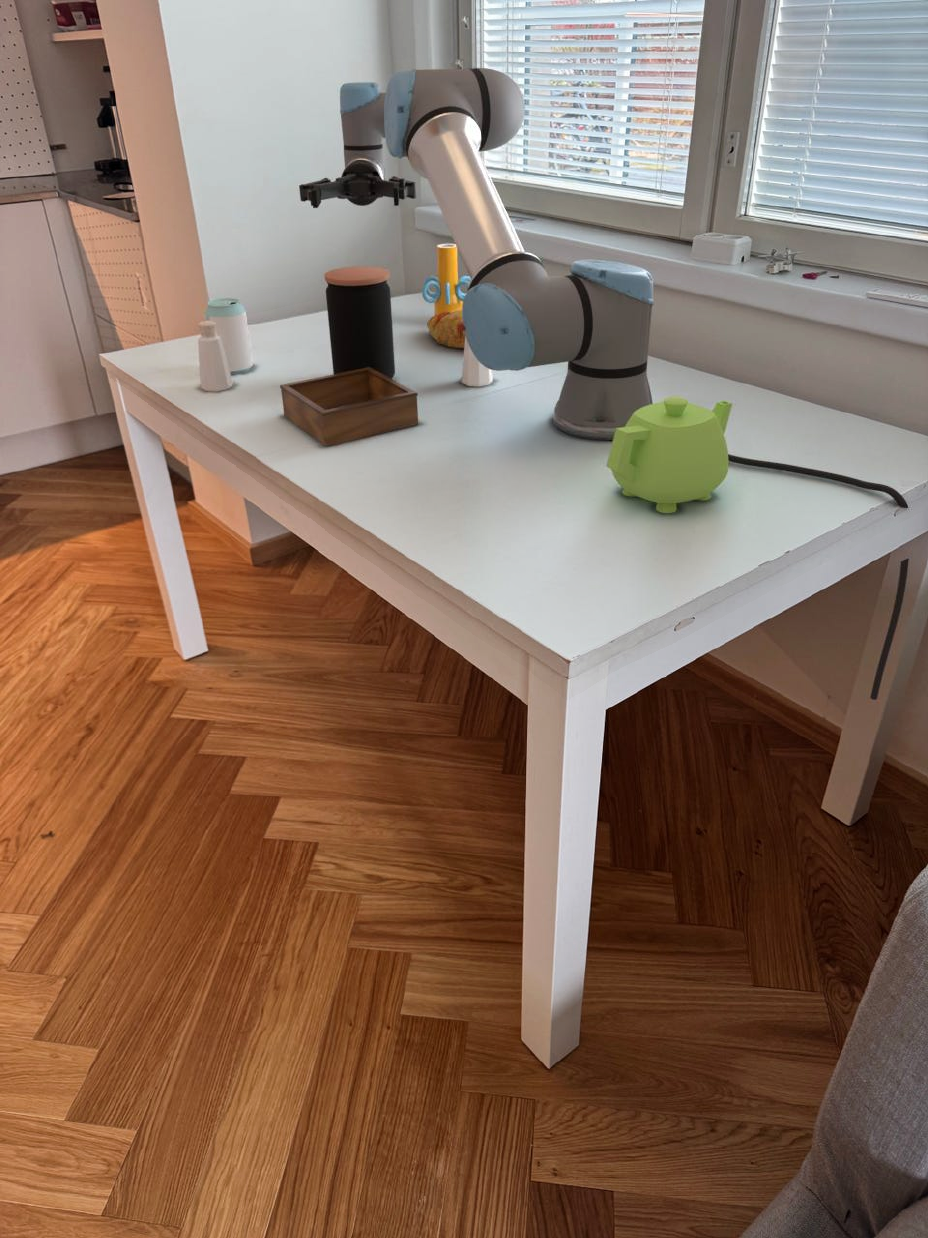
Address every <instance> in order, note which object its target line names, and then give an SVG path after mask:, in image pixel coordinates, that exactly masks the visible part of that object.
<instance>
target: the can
mask: <svg viewBox="0 0 928 1238" xmlns="http://www.w3.org/2000/svg"><path fill="white" fill-rule="evenodd" d="M206 305H207V307H206V309H205V311H204V318H205V321H214V322H215V323H216V327H215V328H216V333H217V336H219V337H221V340H222V344H223V348H224V352H225V355H226V359H227V363H228V367H229V371H230V374H231V375H237V374H243V373H245V372H247V371H249V370H250V369H251V368H252V367H253V366H254V360H253V353H252V345H251V339H250V332H249V327H248V326H249V325H248V318H247V311H246V308H245V307H244V306H243V304H242V303H241V300H240V299H239V298H236V297H235V298H233V297H224V298H223V297H222V298H216V299H211V300H209V301H207V303H206Z"/></svg>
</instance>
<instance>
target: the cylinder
mask: <svg viewBox="0 0 928 1238" xmlns="http://www.w3.org/2000/svg"><path fill="white" fill-rule="evenodd" d="M436 253H437V256H436V257H437V277H436V276H433V275H432V276H431V275H430V276H428V277H426V278H425V280H424V284H423V287H422V292H421V293H422V298H423V300H424V301H425V302H426V303H429V304H434V305H433V309H434V316H435V315H438V314H440V313H443V312H454V311H456V310H460V309H462V305H463V301H464V297H465V295H466V293H467V292H466V293H464V292H462V291H461V286H463V285H464V286H466V287H467V288H468V285H469V283H470V280H471V279H470V277H469V275H463V276H461V277H459V270H458V268H459V267H458V266H459V265H458V249H457V247H456V244H455V243H441V244H437V245H436ZM430 286H433V287H435V288H436V292H435V293H432V292H431V291H430V289H429V288H430ZM429 297H430V298H429Z"/></svg>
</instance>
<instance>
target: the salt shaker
mask: <svg viewBox="0 0 928 1238" xmlns="http://www.w3.org/2000/svg"><path fill="white" fill-rule="evenodd" d="M197 326H198V328H199V332H200V337H199V338H197V345H198V346H197V347H198V360H199V377H200V388H201V389H202V390H204V391H206V392H215V393H217V392H222V391H227V390H230V389H231V388H232V387H233V386H234V382H233V378H232V374H230V371H229V367H228V363H227V359H226V355H225V352H224V348H223V344H222V340H221V337H219V336H217V333H216V328H215V327H216V323H215V322H214V321H206V320H202V321H200V322H199V323H198V325H197Z"/></svg>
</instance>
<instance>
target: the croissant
mask: <svg viewBox="0 0 928 1238" xmlns="http://www.w3.org/2000/svg"><path fill="white" fill-rule="evenodd" d="M426 325H427V329H428V332H429V334H430V336H431V337H432V338H433V339H434V340H435V341H436V343H437V344H441V345H445V346H447V347H449V348H455V349H458V348H460V349H464V345H465V331H466V328H465V326H464V325H463V320H462V309H460V310H456V311H454V312H443V313H440V314H438V315H435V314H434V315H433V316H431V317H430V318H429V320H428V322H427V324H426Z"/></svg>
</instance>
